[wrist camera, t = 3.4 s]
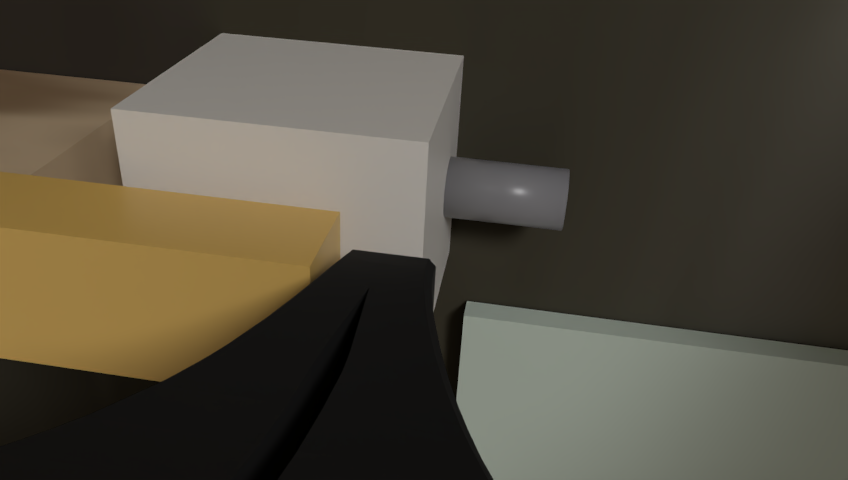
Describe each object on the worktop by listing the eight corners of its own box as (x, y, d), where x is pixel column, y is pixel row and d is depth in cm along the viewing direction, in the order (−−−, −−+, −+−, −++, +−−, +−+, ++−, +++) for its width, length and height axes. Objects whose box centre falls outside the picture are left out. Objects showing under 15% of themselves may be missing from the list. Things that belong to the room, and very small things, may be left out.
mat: (921, 359, 17) (932, 377, 16) (812, 593, 21) (818, 614, 20) (466, 300, 18) (463, 315, 18) (445, 533, 22) (442, 551, 22)
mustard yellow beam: (340, 212, 12) (310, 267, 10) (340, 340, 13) (313, 404, 12) (-197, 148, 13) (-290, 190, 11) (-151, 272, 14) (-229, 324, 13)
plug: (581, 65, 15) (586, 159, 11) (551, 261, 17) (546, 397, 13) (223, 32, 16) (110, 108, 12) (238, 223, 18) (148, 341, 14)
